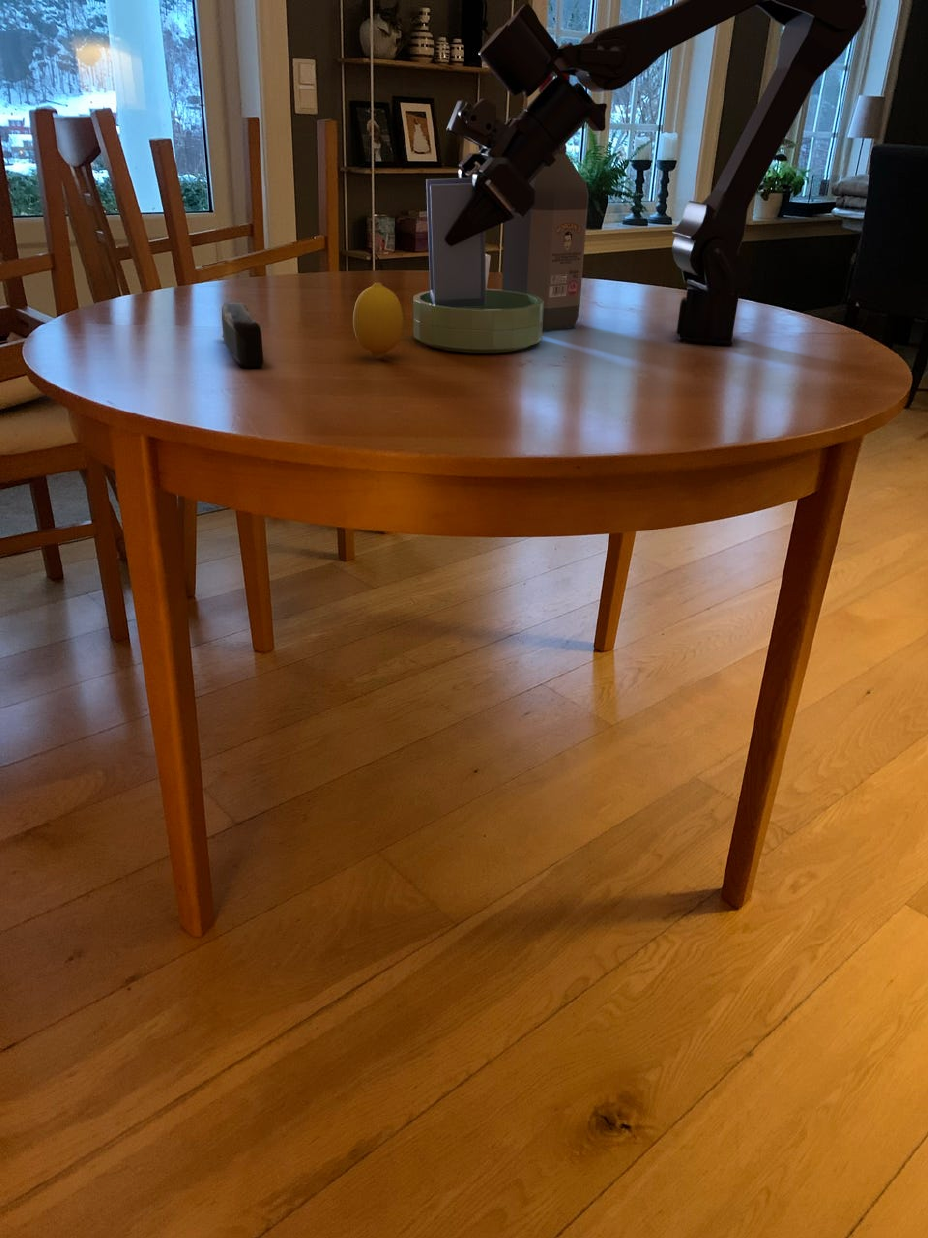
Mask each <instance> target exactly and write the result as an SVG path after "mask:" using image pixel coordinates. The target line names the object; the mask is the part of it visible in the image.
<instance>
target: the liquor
mask: <svg viewBox="0 0 928 1238" xmlns="http://www.w3.org/2000/svg"><path fill="white" fill-rule="evenodd" d="M562 74H563V75H564V77H565V78H566V79H567V80H568V81H569V82H570V83H571V75H568V74H564V73H562ZM551 80H552V78H551V76H550V75H549V76H548V78H547V79H546V80H545V81H544V82H543V84H542V85H541V86H540V87H539V88H538V92H539V93H540V92H541V91H542V90H543V89H544V88H545V86H546V85H547V84H548V83H549V82H550V81H551ZM566 144H567V143H566ZM566 144H565V145H564V146H563V147H562V149H561V150H560V151H559V152H558V153H557V154H556V155H555V156H554V158H555V159H556V161H555V162H554V163H553V164H552V165H551V166H550V167H546V166H545V167H544V168H543V169H542V170H541V171H540V172H539V173H538V175H537V176H536V177H535V178H534V179H533V180H532V181H531V182H530V183H529V184H530V185H531V186H532V188H533V189H534V190H535V204H534V205H533V206H532V207H531V208H530V210H529V211H528V212H527V213H526V214H525V215H524V216H523V217H520V216H518V215H517V214H516V213H515V212H514V210H515V209H514V207H513V208H512V210H511V211H510V212H511V213H512V215H513V216H514V217H515V218H514V219H512V220H509V221H506V222H504V229H503V230H504V234H503V256H502V280H501V290H508V291H516V292H523V293H527V294H532V295H535V296H537V297H540V298H542V299H543V301H544V313H543V328H542V332H549V331H556V330H557V331H558V330H564V329H565V330H566V329H573V328H574V327H575V325H576V323H577V321H578V320H579V316H580V305H581V292H582V280H583V268H584V255H585V243H586V231H587V222H588V221H587V220H588V209H589V195H590V193H589V189H588V186H587V183H586V181H585V179H584V178H583V177H582V175H581V174H580V172H579V171H578V170H577V168H576V166H575V165H574V163H573V162H572V160H571V159H570V157H569V155H567V150H568V149H567V145H566Z"/></svg>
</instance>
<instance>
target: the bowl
mask: <svg viewBox="0 0 928 1238" xmlns="http://www.w3.org/2000/svg"><path fill="white" fill-rule="evenodd" d="M412 297H413V299H412V301H413V304H412V307H413V310H412V311H413V313H412V315H413V320H412V321H413V324H412V326H413V329H412V330H413V332H412V333H413V334H412V335H413V338H415V339H416V340H418V341H419V342H422V343H424V344H425V345H426V346H429V347H432V348H435V349H437V350H438V349H439V350H443V351H449V352H456V353H465V354H466V353H467V354H501V353H511V352H517V351H522V350H525V349H527V348H529V347H530V346H534V345H536V344H539V343H540V342H541V341H542V339H543V331H542V328H543V313H544V301H543V299H542V298H540V297H537V296H535V295H532V294H527V293H523V292H516V291H508V290H502V289H499V288H498V289H497V288H487V289H486V306H470V307H447V306H440V305H435V304H433V301H432V299H431V293H430V290H426V291H422V292H419V293H417V294H414V295H413V296H412Z"/></svg>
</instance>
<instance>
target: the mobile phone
mask: <svg viewBox="0 0 928 1238" xmlns="http://www.w3.org/2000/svg"><path fill="white" fill-rule="evenodd" d="M221 325H222V336H221V337H222V338H223V342H224V344H225V346H226V347H227V348H228V350H229V352H230V354H231V355H232V357H233V359H234V360H235V362H236V363H237V365H238V366H240V367H244V368H258V367H262V366H263V365H264V352H263V338H262V330H261V326H260V324H259V323H258V322H257V321H255V319H254V318H253V316H252V315H251V314H250V313H249V309H248V306H247V305H246V303H244V302H237V301H236V302H234V301H232V302H230V301H229V302H224V303H223V305H222V307H221Z"/></svg>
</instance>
